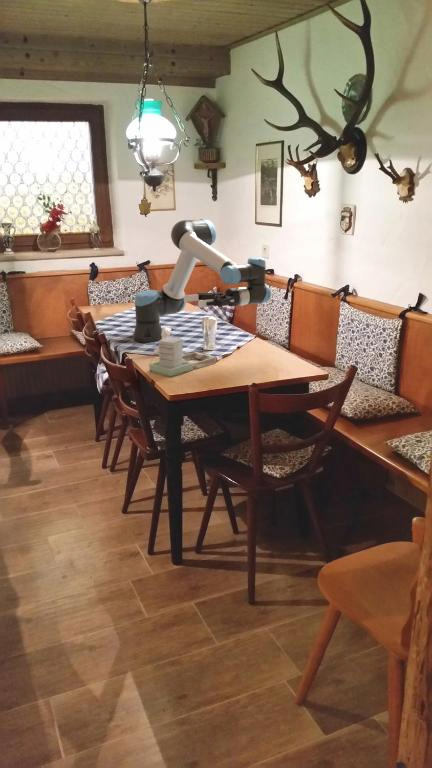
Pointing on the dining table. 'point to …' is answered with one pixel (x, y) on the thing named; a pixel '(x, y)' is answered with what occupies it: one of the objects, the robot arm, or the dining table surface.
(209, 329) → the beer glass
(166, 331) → the white creature statuette
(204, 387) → the dining table surface
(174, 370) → the green tray
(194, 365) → the beige square tray
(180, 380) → the dining table surface
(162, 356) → the supplement box
